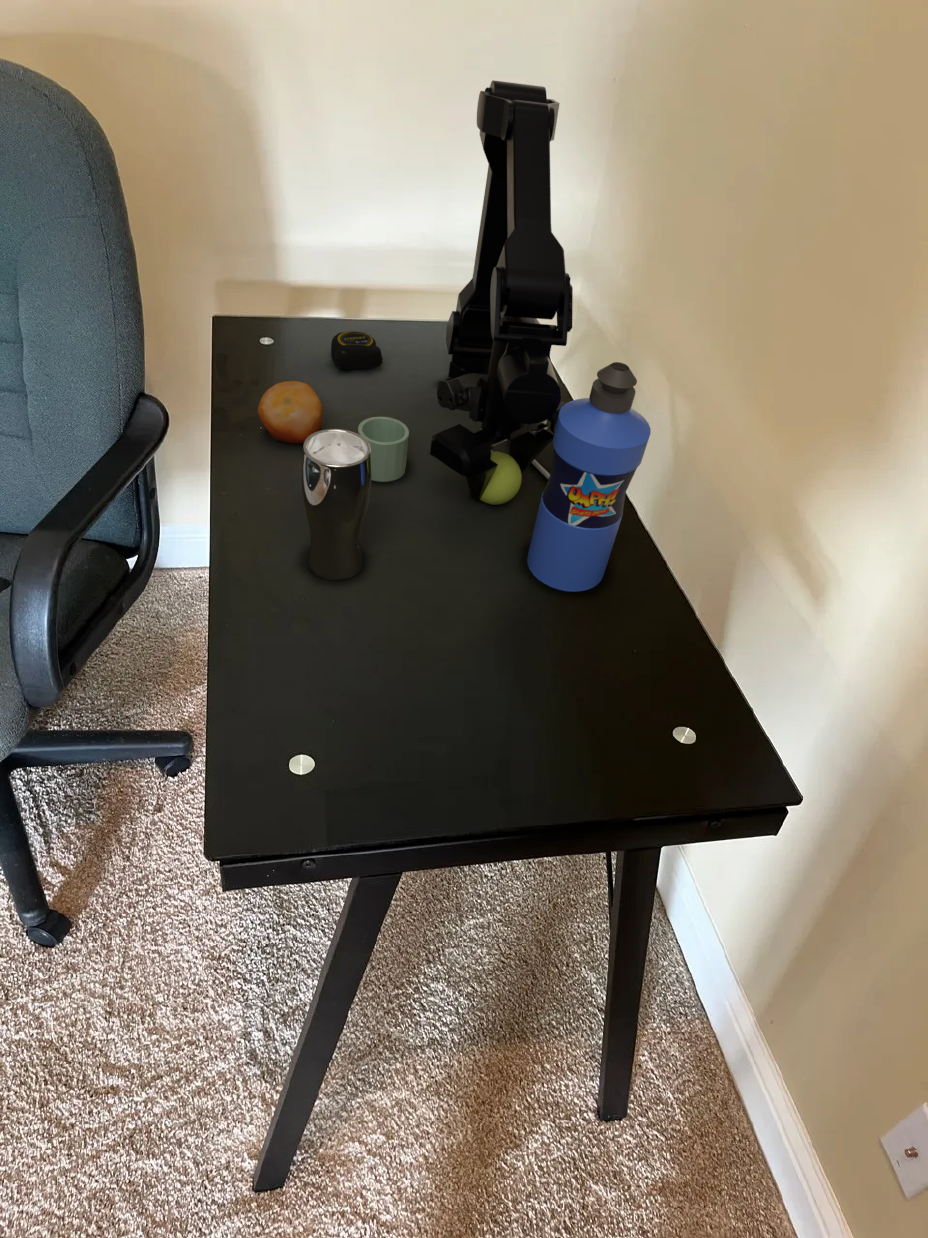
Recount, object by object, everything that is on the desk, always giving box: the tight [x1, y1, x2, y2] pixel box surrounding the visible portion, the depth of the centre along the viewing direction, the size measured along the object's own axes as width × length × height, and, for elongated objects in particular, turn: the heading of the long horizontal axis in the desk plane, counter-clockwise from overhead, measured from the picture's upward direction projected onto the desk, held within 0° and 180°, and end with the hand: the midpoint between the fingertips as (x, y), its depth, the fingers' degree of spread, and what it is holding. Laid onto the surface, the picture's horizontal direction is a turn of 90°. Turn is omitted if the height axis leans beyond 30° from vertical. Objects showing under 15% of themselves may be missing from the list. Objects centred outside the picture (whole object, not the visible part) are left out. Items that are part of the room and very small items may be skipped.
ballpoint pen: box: [531, 458, 551, 480], centre depth 109 cm, size 10×1×1 cm, turn 33°
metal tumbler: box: [301, 428, 372, 581], centre depth 86 cm, size 7×7×15 cm
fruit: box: [257, 380, 324, 444], centre depth 106 cm, size 8×8×8 cm
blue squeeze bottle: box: [526, 361, 652, 593], centre depth 87 cm, size 9×9×25 cm
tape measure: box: [330, 330, 384, 370], centre depth 122 cm, size 7×7×4 cm
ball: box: [479, 451, 523, 506], centre depth 101 cm, size 6×6×6 cm
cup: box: [357, 416, 410, 483], centre depth 103 cm, size 6×6×6 cm
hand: (493, 489), depth 102 cm, fingers closed on ball, 6 cm apart
